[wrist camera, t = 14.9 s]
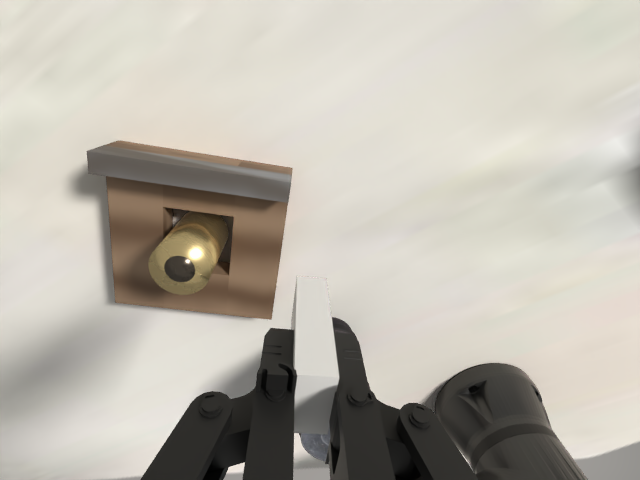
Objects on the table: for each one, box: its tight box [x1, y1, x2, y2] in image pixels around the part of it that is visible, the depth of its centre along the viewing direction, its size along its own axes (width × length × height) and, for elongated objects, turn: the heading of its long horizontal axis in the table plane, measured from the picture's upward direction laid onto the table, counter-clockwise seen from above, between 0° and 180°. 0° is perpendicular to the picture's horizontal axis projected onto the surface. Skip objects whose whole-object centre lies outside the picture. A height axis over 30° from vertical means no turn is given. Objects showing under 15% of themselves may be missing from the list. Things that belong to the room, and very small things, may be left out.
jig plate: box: [87, 141, 292, 319], centre depth 38 cm, size 18×18×6 cm
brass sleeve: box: [148, 211, 228, 295], centre depth 37 cm, size 6×6×9 cm
